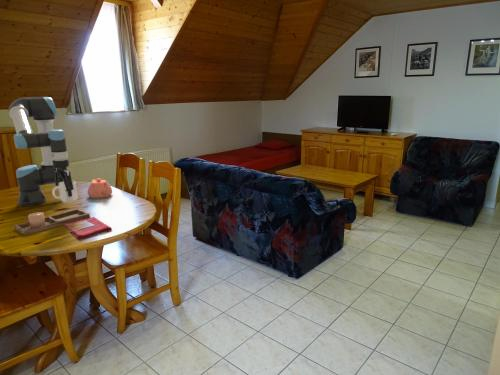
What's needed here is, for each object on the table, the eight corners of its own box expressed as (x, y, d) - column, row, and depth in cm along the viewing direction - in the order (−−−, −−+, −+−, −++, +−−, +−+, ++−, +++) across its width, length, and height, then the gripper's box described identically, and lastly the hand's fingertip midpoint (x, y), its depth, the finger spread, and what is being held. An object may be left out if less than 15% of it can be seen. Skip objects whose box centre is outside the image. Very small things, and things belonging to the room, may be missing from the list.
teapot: (119, 197, 239) (117, 179, 236) (97, 202, 229) (94, 184, 226) (104, 191, 254) (102, 174, 251) (82, 195, 244) (80, 178, 240)
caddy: (15, 230, 185) (14, 225, 185) (78, 213, 210) (77, 208, 209) (25, 237, 178) (24, 231, 177) (90, 218, 202) (89, 213, 201)
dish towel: (78, 241, 175) (78, 236, 174) (62, 227, 191) (61, 222, 190) (113, 231, 186) (112, 226, 185) (95, 219, 202) (94, 215, 202)
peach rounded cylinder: (28, 227, 187) (25, 214, 185) (42, 223, 192) (40, 211, 190) (33, 230, 183) (31, 217, 181) (48, 226, 188) (46, 214, 186)
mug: (54, 204, 191) (51, 186, 188) (53, 200, 197) (50, 182, 195) (79, 201, 197) (76, 182, 194) (77, 197, 203) (74, 179, 201)
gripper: (44, 158, 194) (50, 198, 200) (62, 163, 181) (68, 206, 187) (58, 156, 199) (64, 195, 206) (77, 160, 187) (82, 202, 193)
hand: (66, 200), depth 197 cm, fingers closed on mug, 8 cm apart
